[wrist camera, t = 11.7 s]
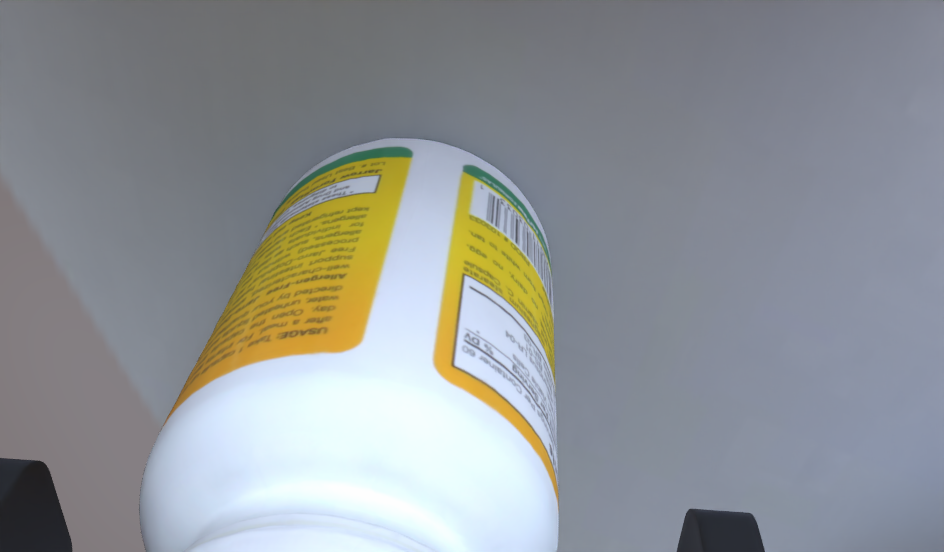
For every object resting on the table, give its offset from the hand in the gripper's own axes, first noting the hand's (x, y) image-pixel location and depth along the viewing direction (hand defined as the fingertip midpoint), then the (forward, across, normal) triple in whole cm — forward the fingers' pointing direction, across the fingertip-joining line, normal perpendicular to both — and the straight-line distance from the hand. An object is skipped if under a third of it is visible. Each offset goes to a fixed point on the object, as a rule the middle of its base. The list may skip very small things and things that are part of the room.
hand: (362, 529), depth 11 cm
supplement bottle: (+7, 0, 0) cm, 7 cm away
